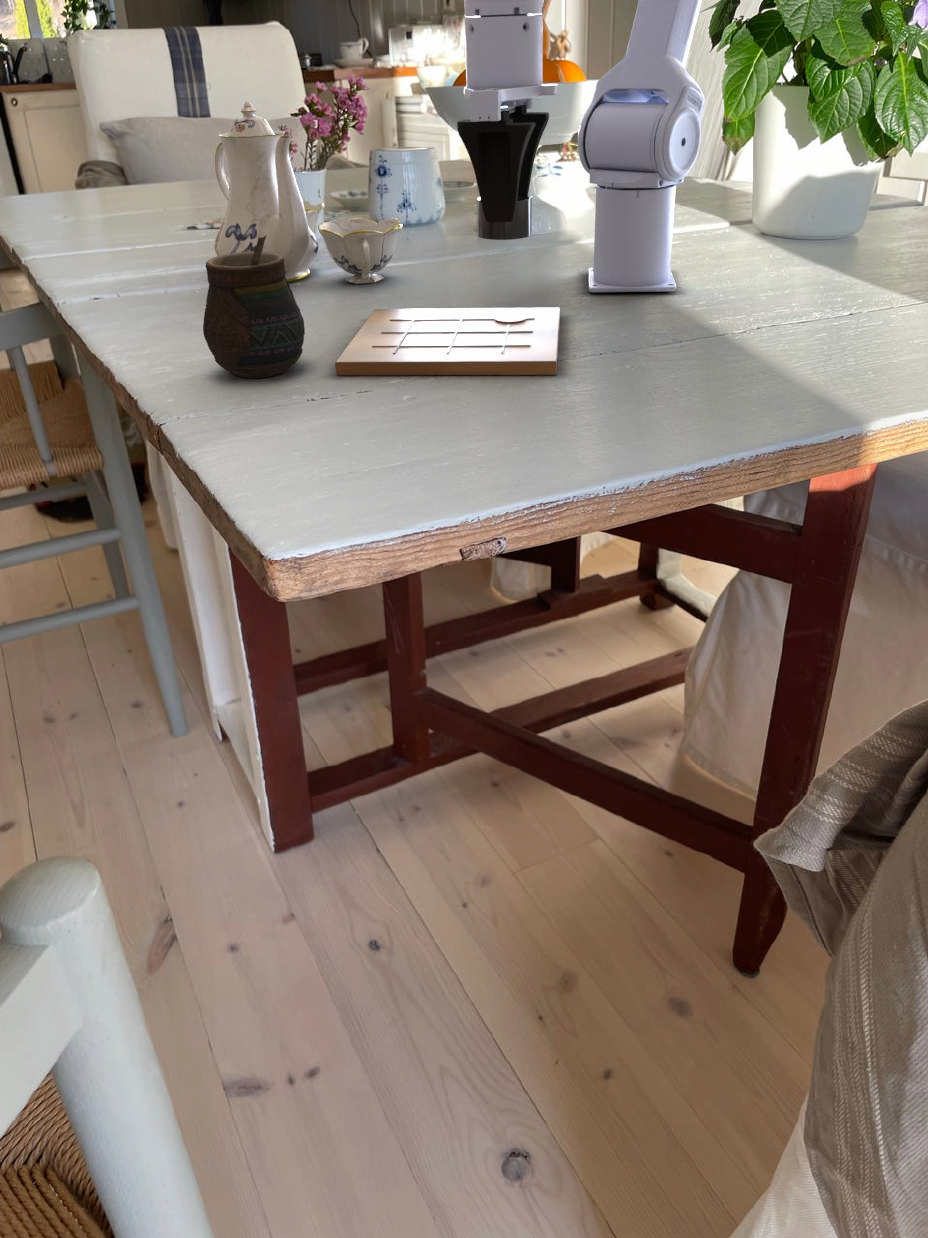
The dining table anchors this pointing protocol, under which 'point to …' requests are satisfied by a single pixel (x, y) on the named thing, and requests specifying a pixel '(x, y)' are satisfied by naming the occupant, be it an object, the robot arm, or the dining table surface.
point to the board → (455, 342)
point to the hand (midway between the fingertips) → (505, 216)
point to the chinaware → (288, 208)
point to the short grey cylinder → (507, 230)
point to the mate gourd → (252, 314)
